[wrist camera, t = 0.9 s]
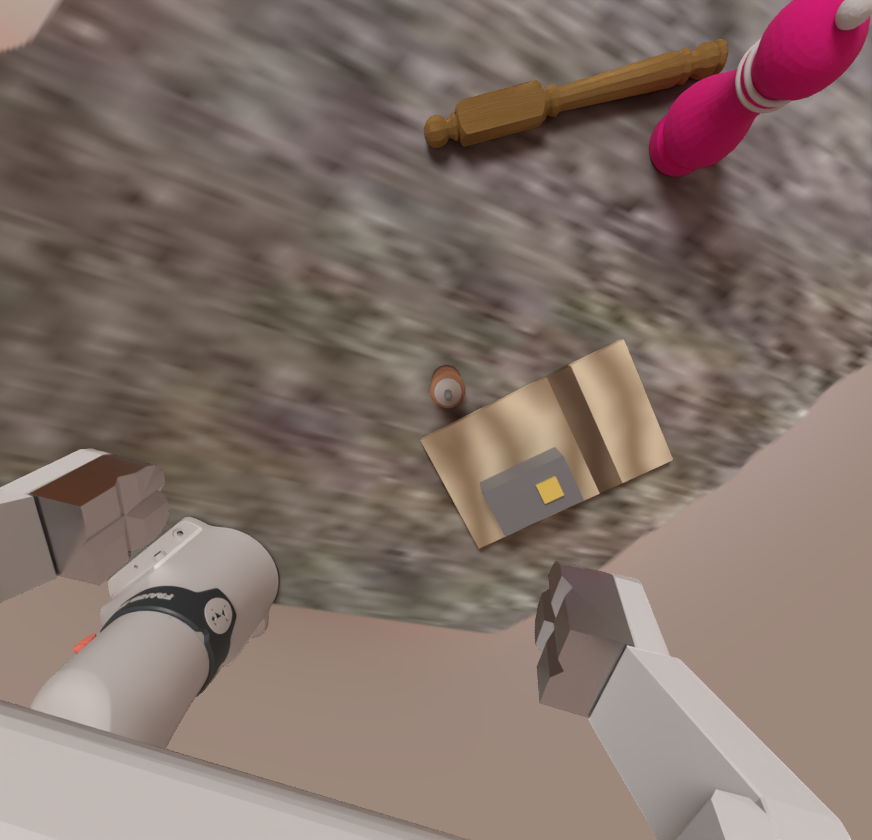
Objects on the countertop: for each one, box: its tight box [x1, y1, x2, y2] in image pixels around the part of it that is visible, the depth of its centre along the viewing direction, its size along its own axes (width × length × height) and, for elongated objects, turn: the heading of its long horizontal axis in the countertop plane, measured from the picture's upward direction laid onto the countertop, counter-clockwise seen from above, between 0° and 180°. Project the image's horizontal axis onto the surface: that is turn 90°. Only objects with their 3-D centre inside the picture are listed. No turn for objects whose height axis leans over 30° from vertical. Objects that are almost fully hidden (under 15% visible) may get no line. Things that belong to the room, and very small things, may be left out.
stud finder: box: [480, 447, 584, 536], centre depth 49 cm, size 10×6×4 cm, turn 117°
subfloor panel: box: [421, 340, 673, 548], centre depth 51 cm, size 26×16×1 cm, turn 117°
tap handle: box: [424, 39, 728, 148], centre depth 42 cm, size 3×3×30 cm
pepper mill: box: [649, 0, 872, 177], centre depth 34 cm, size 7×7×20 cm
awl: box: [430, 365, 465, 408], centre depth 43 cm, size 3×3×13 cm
